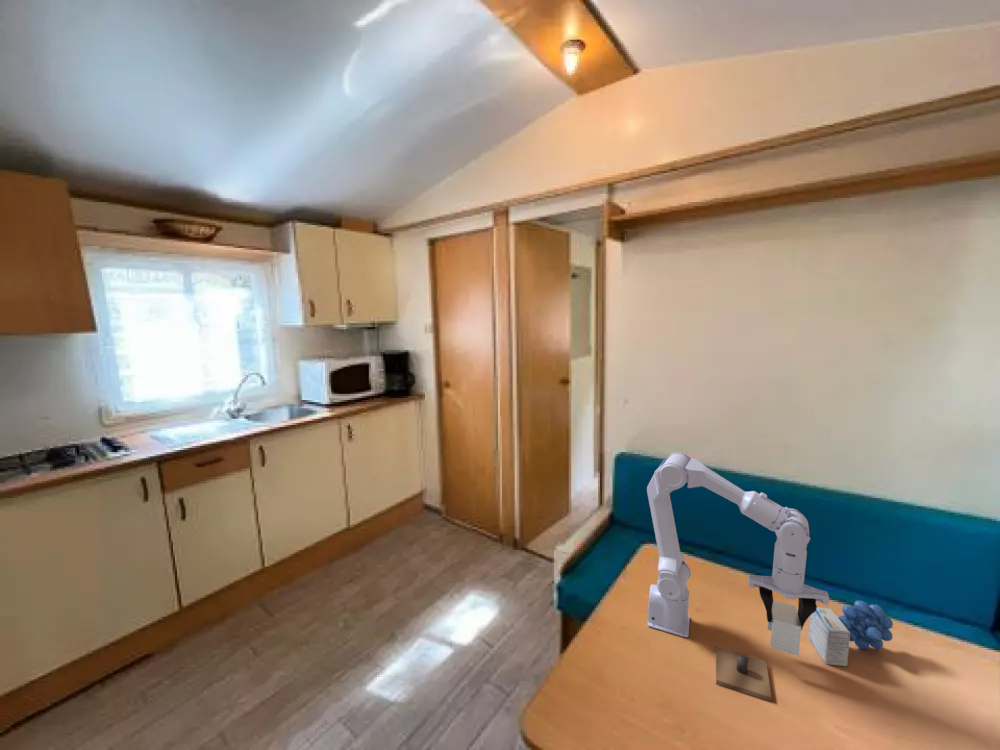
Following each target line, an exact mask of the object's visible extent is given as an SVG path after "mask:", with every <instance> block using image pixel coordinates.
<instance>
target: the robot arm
mask: <svg viewBox="0 0 1000 750" xmlns="http://www.w3.org/2000/svg"><path fill="white" fill-rule="evenodd" d="M686 483H687V488H688V489H692V488H700V487H703V488H706V489H707V490H709V491H712V493H715V494H717V495H719V496H721V497H723V498H724V499H726V500H728V501H729V502H732V503H734V504H735V505H737V506H738V508H739V511H740V513H741V514H742V515H744V516H746V517H748V518H749V519H751V520H752V521H754V522H756V523H758V524H759V525H761V526H762V527H764V528H766V529H768V530H769V531H772V532H774V533H775V535H776V541H775V543H774V552H773V562H772V573H771V575H772V576H771V575H769V576H768V575H756V574H755V575H754V574H748V576H747V577H748V579H747V584H748V587H749V588H751V589H752V588H753V589H754V588H755V587H756V588H758V590H759V591H758V592H759V597H760V598H761V600H762V603H763V605H764V607H765V612H766V620H767V621H766V622H767V623H768V622H771V620H772V605H773V601H774V597H773V596H774V595H773V594H774V593H773V592H775V593H778V594H780V595H782V596H783V597H784V599H788V600H792V601H795V600H796V599H797V598H798V605H797V606H798V609H797V613H798V616H799V620H800V624H801V631H802V630H803V628H804V625H805V624H806V622H807V620H808V619H809V618H810V615H811V614H812V613H814V612H815V611H816V609H817V607H818V606H817V602H821V604H822V605H826V606H829V603H830V602H829V601H830V596H829V593H828V591H825V590H823V589H822V590H821V589H819V588H815V587H813V586H810V585H807V584H806V583H805V575H806V563H807V555H808V551H807V548H808V544H809V543H810V541H811V536H810V528H809V527H810V526H809V522H808V519H807V518H806V517H805V515H804V514H803V513H802V512H800V511H799V510H798V509H795V508H790V507H787V506H785V507H783V506H782V505H780V504H778V503H777V502H775V501H773V500H771V499H769V498H768V495H767V494H766V493H764V492H763V491H762V492H760V493H759V492H757V491H755V490H751V491H745V490H743V489H742V488H740V487H739V486H737V485H736V484H734V483H732V482H730V480H727V479H726V478H724V477H723V476H721V475H719V474H718V473H717V472H715V471H713V470H712V469H710V468H709V467H707V466H705V465H704V464H703V463H702V462H701V461H699V460H698V459H696V458H694V457H690V456H689V455H688V454H686V453H684V452H680V451H677V452H672V453H670V454H669V455H668V456H667V457H665V458H664V459H663V460H662V462H661V463H660V464H659V466H658V467H657V468H656V470H654V473H653V475H652V477H651V479H650V481H649V482H648V484H647V487H646V492H647V493H646V494H647V498H648V504H649V508H650V514H651V519H652V525H653V526H652V527H653V530H654V534H655V541H656V545H657V552H658V566H657V573H658V576H657V577H658V578H657V580H656V584H652V583H651V584H650V586H649V593H648V605H647V613H648V614H647V627H650V628H653V629H655V630H660V631H663V632H666V633H669V634H673V635H677V636H680V637H683V638H689V633H690V632H689V631H690V617H691V616H690V615H689V602H690V601H689V600H690V597H689V596H690V590H689V588H688V586H687V584H688V581H689V579H690V577H691V574H692V573H691V572H692V571H691V569H690V566H689V565H688V564H687V562H686V559H685V557H684V554H683V553H682V552H681V549H680V543H679V538H678V533H677V527H676V522H675V517H674V511H673V507H672V506H673V505H672V500H671V493H672V492H674V491H676V490H679V489H680V488H683V487H684V486H685V484H686Z"/></svg>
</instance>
